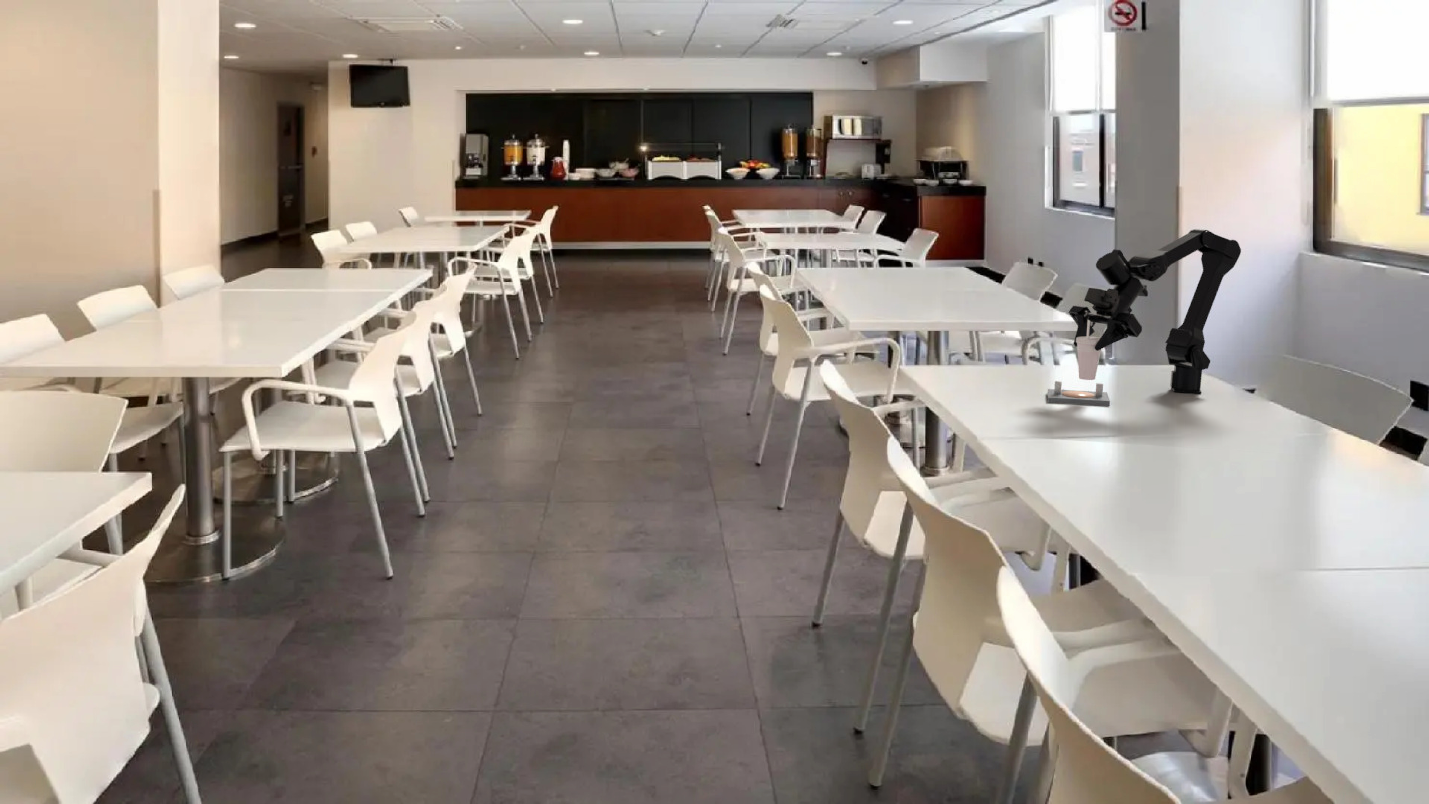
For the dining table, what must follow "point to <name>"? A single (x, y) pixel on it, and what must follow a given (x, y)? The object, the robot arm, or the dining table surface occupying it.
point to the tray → (1078, 396)
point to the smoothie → (1087, 356)
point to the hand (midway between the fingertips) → (1085, 347)
